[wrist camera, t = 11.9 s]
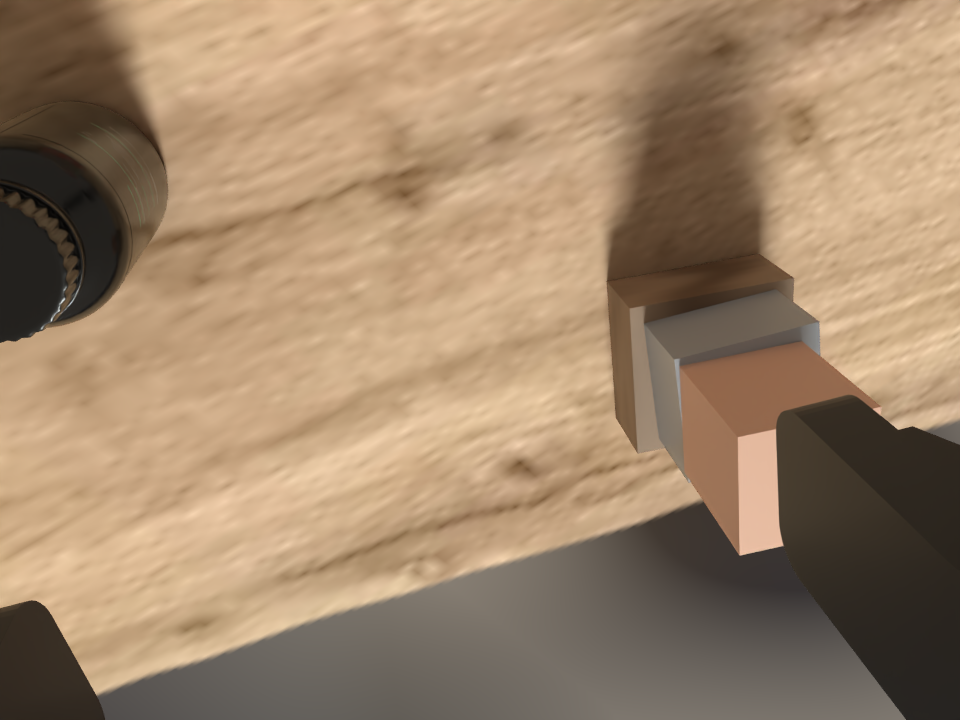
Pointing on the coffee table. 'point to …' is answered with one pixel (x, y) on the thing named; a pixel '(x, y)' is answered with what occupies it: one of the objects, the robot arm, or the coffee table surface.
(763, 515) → the terracotta block
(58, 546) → the coffee table surface
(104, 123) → the supplement bottle
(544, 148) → the coffee table surface
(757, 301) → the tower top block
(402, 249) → the coffee table surface
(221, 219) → the coffee table surface
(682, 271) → the tower base block
